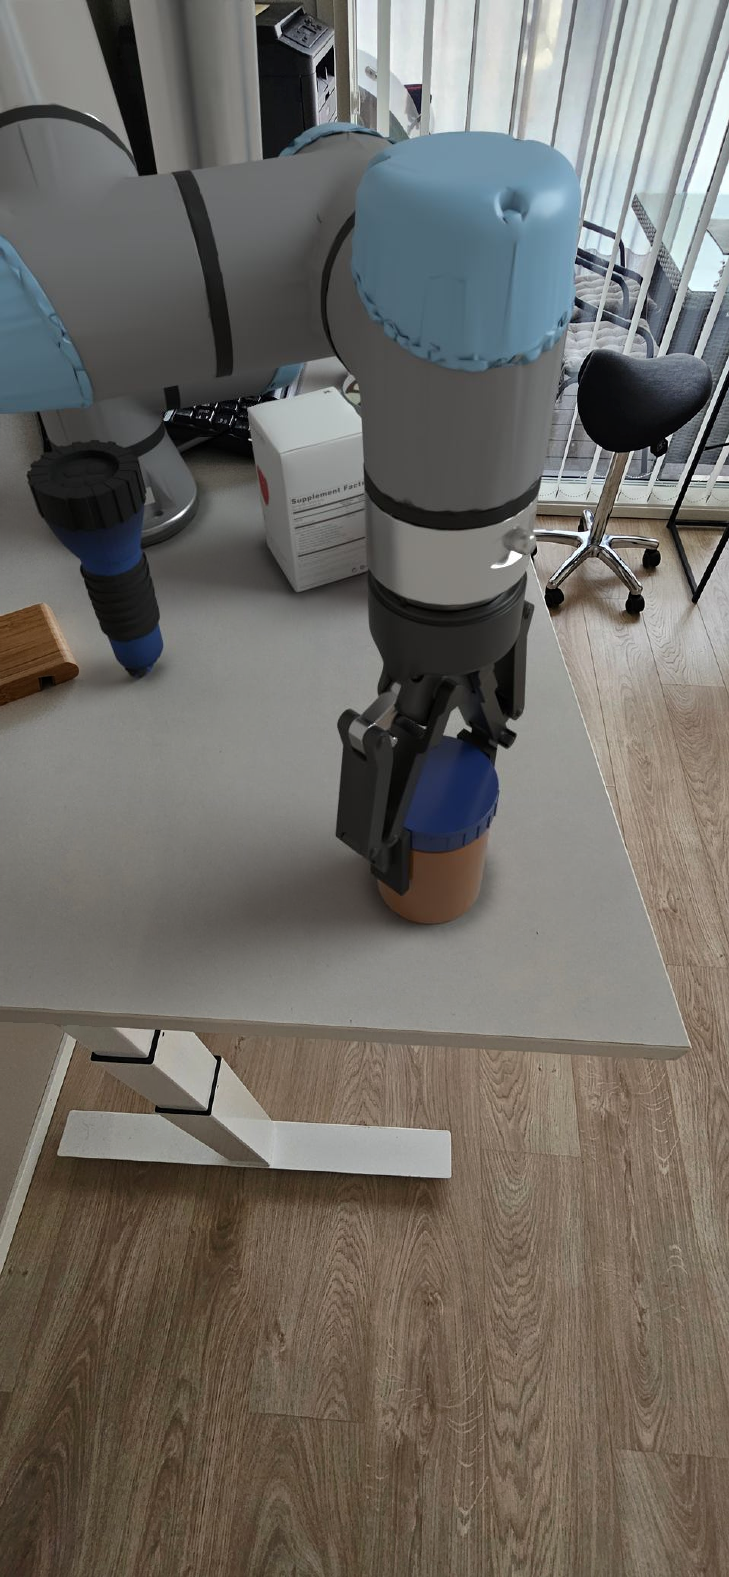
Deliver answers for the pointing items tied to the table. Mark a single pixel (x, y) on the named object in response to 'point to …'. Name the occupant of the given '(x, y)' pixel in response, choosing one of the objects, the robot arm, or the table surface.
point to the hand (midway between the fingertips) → (431, 840)
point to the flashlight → (104, 540)
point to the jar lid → (452, 797)
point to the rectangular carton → (311, 485)
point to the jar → (440, 883)
